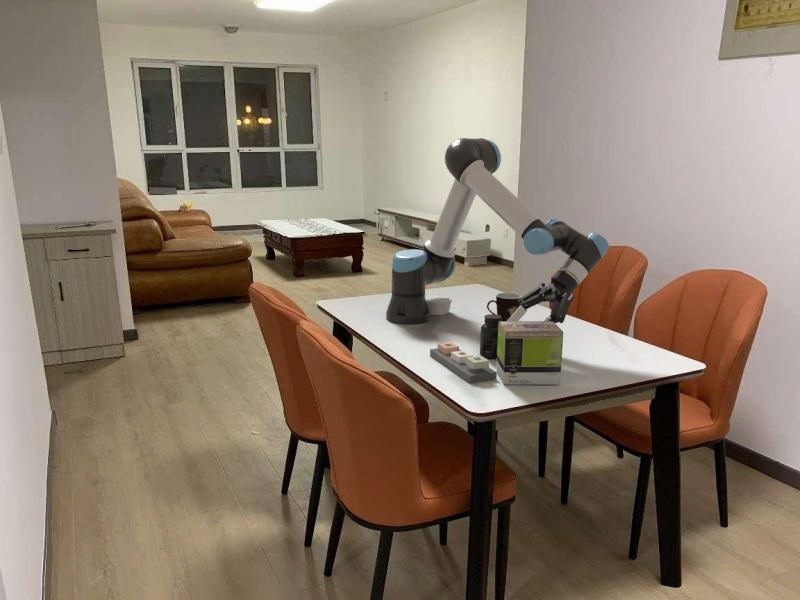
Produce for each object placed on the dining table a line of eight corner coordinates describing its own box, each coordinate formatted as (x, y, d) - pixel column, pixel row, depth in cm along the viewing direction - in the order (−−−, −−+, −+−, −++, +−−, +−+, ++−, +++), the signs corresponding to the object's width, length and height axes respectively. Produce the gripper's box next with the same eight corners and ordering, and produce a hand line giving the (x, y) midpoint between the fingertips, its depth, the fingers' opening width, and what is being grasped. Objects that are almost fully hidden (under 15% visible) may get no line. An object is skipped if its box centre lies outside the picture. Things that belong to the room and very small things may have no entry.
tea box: (549, 372, 173) (554, 320, 169) (560, 386, 163) (565, 331, 159) (495, 371, 172) (498, 319, 168) (502, 385, 162) (505, 330, 159)
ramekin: (446, 318, 224) (447, 303, 222) (416, 314, 227) (417, 300, 226) (454, 310, 234) (454, 296, 233) (425, 307, 237) (425, 293, 236)
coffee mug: (518, 321, 221) (520, 293, 219) (520, 328, 213) (522, 299, 211) (485, 319, 222) (486, 291, 220) (485, 326, 214) (487, 297, 212)
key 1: (437, 349, 183) (437, 343, 182) (451, 347, 184) (451, 341, 184) (444, 354, 179) (445, 347, 178) (458, 352, 180) (459, 346, 180)
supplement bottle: (484, 350, 189) (487, 311, 186) (506, 355, 186) (509, 315, 183) (475, 356, 183) (477, 316, 181) (497, 361, 180) (500, 320, 177)
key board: (429, 355, 183) (430, 349, 183) (454, 352, 187) (454, 346, 186) (469, 383, 163) (470, 376, 163) (496, 379, 166) (496, 372, 166)
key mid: (450, 358, 175) (451, 351, 175) (465, 356, 177) (465, 350, 177) (458, 363, 171) (459, 356, 171) (473, 361, 173) (473, 354, 173)
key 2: (465, 363, 168) (465, 356, 168) (479, 361, 170) (480, 355, 169) (473, 369, 164) (474, 362, 164) (488, 367, 166) (489, 360, 165)
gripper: (603, 294, 180) (555, 350, 177) (549, 277, 202) (506, 326, 199) (590, 277, 176) (541, 334, 174) (537, 261, 198) (492, 311, 196)
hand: (522, 330), depth 187 cm, fingers open, 13 cm apart
